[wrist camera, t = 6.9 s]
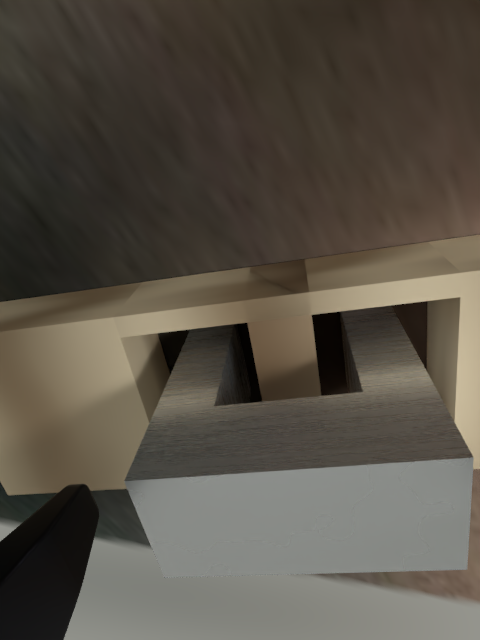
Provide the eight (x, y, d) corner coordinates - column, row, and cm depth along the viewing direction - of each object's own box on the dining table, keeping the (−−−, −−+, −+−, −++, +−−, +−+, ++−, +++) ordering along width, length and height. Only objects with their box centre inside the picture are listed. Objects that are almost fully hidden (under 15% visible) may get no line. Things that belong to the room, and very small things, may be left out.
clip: (386, 297, 13) (474, 457, 7) (390, 375, 14) (466, 569, 8) (193, 323, 14) (124, 481, 8) (211, 393, 15) (163, 577, 9)
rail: (667, 208, 11) (767, 233, 9) (620, 399, 13) (687, 457, 11) (-22, 305, 14) (-80, 342, 12) (45, 443, 17) (7, 495, 14)
